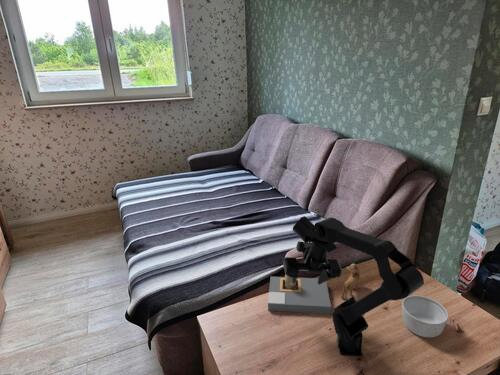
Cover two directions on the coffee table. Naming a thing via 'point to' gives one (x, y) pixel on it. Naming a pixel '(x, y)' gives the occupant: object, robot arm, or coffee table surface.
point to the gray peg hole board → (299, 296)
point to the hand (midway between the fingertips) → (305, 283)
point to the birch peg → (289, 283)
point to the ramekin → (424, 316)
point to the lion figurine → (351, 280)
